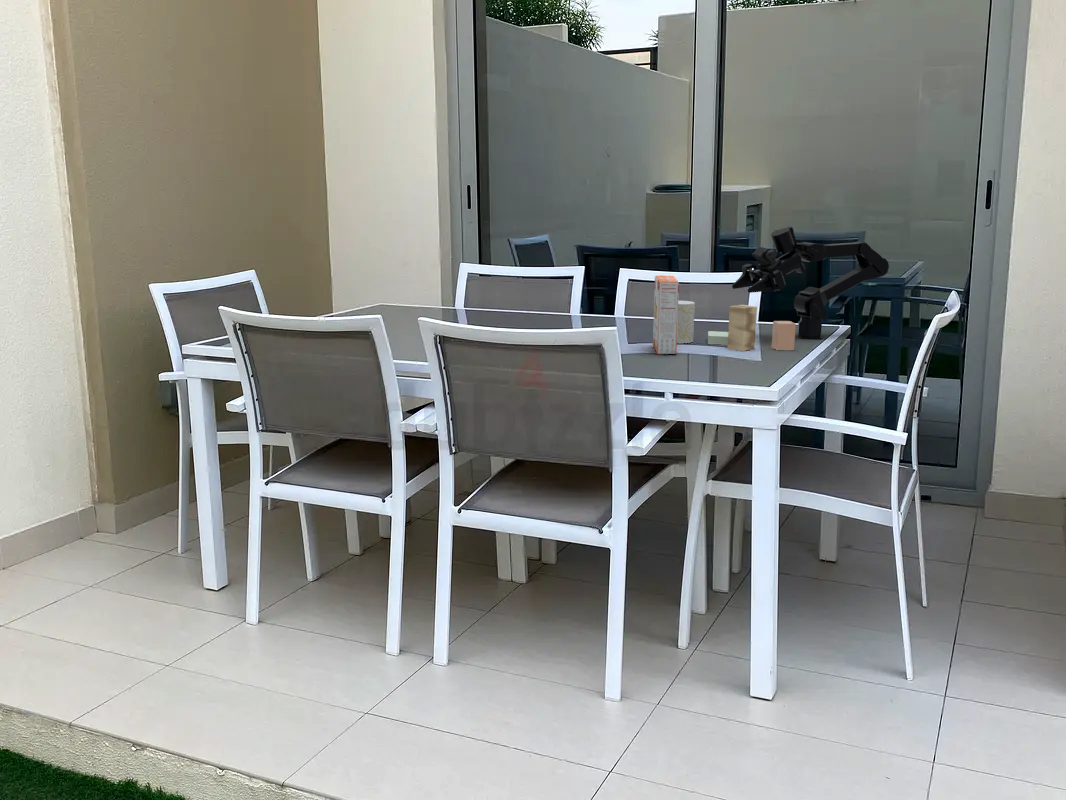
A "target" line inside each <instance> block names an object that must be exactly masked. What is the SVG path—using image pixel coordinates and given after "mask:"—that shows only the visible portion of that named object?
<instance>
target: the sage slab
mask: <svg viewBox="0 0 1066 800" xmlns="http://www.w3.org/2000/svg"><path fill="white" fill-rule="evenodd" d="M708 344H721V345H720V346H728V331H714V330H713V331H709V330H708V332H707V345H708Z"/></svg>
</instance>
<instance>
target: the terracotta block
mask: <svg viewBox="0 0 1066 800" xmlns="http://www.w3.org/2000/svg"><path fill="white" fill-rule="evenodd" d="M771 335H772V336H771V349H772V348H774V349H776V350H794V351H795V343H796V342H795V341H796V340H795V339H796V323H795V322H793V321H790V320H773V323H772V334H771ZM774 349H773V350H774ZM776 350H775V351H776Z"/></svg>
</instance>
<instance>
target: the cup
mask: <svg viewBox="0 0 1066 800" xmlns="http://www.w3.org/2000/svg"><path fill="white" fill-rule="evenodd" d="M695 307H696V302H694V301H690V300H678V324H677V343H690V342H693V343H694V326H695Z"/></svg>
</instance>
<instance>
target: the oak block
mask: <svg viewBox="0 0 1066 800" xmlns="http://www.w3.org/2000/svg"><path fill="white" fill-rule="evenodd" d="M728 312H729V314H728V315H729V316H728V331H727V332H728V345H727V346H726V347H727V348H728V350H732V349H734V350H733V351H737V350H739V352H747V351H746V350H748V351H751V350H750V349H754V350H755V344H756V330H757V328H756V327H757V316H758V315H757V313H758V306H756V305H755V306H754V305H747V304H737V305H730V306H729V311H728Z"/></svg>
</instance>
